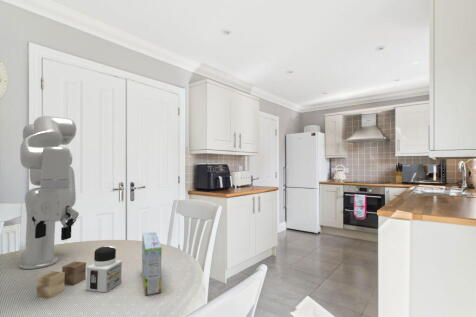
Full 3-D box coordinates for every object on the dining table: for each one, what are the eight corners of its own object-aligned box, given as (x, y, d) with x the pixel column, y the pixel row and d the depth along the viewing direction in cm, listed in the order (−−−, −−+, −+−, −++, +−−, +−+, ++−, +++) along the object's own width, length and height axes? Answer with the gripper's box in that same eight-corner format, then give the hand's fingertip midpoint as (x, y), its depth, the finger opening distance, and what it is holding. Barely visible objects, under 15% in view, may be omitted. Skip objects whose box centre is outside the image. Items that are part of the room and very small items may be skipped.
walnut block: (61, 284, 88) (62, 266, 88) (73, 277, 93) (74, 261, 93) (74, 285, 87) (74, 267, 87) (85, 279, 92) (85, 262, 92)
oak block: (36, 296, 79) (37, 277, 79) (51, 289, 84) (51, 271, 84) (50, 298, 78) (50, 278, 78) (64, 290, 83) (64, 272, 83)
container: (106, 293, 82) (107, 252, 82) (85, 290, 83) (87, 250, 84) (121, 282, 89) (122, 245, 90) (102, 280, 91) (103, 243, 91)
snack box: (140, 271, 99) (141, 232, 100) (155, 269, 102) (156, 231, 102) (143, 296, 80) (145, 248, 81) (162, 293, 82) (163, 246, 83)
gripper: (21, 185, 80) (18, 239, 79) (68, 186, 77) (66, 243, 76) (43, 183, 88) (41, 234, 87) (87, 184, 84) (85, 236, 84)
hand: (53, 238), depth 81 cm, fingers open, 9 cm apart
